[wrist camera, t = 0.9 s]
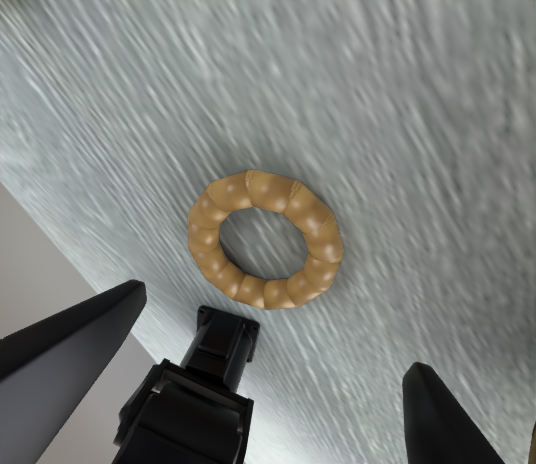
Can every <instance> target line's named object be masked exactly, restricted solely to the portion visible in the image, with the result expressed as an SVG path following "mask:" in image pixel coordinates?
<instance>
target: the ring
mask: <svg viewBox="0 0 536 464" xmlns="http://www.w3.org/2000/svg"><path fill="white" fill-rule="evenodd" d="M253 206H255V207H259V208H263V209H266V210H270V211H274V212H278V213H281V214H283V215H284V216H285V217H286V218H287V219H288V220H290V221H291V222H292V223H293V224H294V225H295V226H296V227H297V228H299V229H300V230H301V231H302V233H303V236H304V239H305V242H306V245H307V248H308V251H309V253H308V256H307V259H306V262H305V265H304V268H302V269H301V270H299V271H298V272H297V273H295V274H294V275H293V276H291V277H290V278H285V279H277V280H269V281H268V280H264V279H261V278H257V277H254V276H251V275H247V274H245V273H244V272H243V271H241V270H240V269H239V268H238V267H236V266H235V265H234V264H232V263H231V262H230V261H229V260H228V259H227V257H226V255H225V253H224V251H223V249H222V247H221V245H220V243H219V231H220V224H221V223H222V222H223V221H224V220H225V219H226V217H227V216H228V215H229V214H230V213H231V212H232V211H237V210H241V209H245V208H249V207H253ZM188 249H189V251H190V253H191V255H192V257H193V259H194V260H195V262H196V264H197V266H198V267H199V269H200V271H201V273H202V274H203V276H204V278H205V279H206V280H207V281H208V282H210V283H211V284H212V285H214V286H215V287H216V288H218V289H219V290H220V291H222V292H223V293H224V294H225V295H227V296H228V297H229V298H231V299H232V300H235V301H238V302H241V303H245V304H248V305H251V306H254V307H258V308H261V309H265V310H271V309H283V308H294V307H300V306H302V305H304V304H306V303H307V302H309V301H310V300H312V299H314V298H315V297H317V296H318V295H320V294H322V293H323V292H325V291H326V290H328V289H329V288H330V286H331V285H332V282H333V280H334V278H335V275H336V273H337V270H338V268H339V265H340V263H341V261H342V258H343V254H344V249H343V245H342V241H341V237H340V234H339V230H338V226H337V222H336V219H335V215H334V213H333V212H332V210H331V209H330V208H329V207H328V206H327V205H326V204H324V203H323V202H322V201H321V200H320V199H319V198H318V197H317V196H316V195H315V194H314V193H313V192H311V191H310V190H309V189H308V188H307V187H306V186H305V185H304V184H303V183H302V182H300V181H299V180H296V179H292V178H288V177H284V176H280V175H276V174H272V173H268V172H264V171H260V170H248V171H245V172H241V173H238V174H235V175H231V176H228V177H225V178H221V179H218V180H215V181H213V182H212V183H210V184H209V185H208V187H207V188H206V189H205V191H204V192H203V193H202V195H201V196H200V197H199V199H198V200H197V201H196V203H195V204H194V205H193V207H192V208H191V209H190V211H189V214H188Z"/></svg>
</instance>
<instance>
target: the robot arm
mask: <svg viewBox="0 0 536 464" xmlns="http://www.w3.org/2000/svg"><path fill="white" fill-rule="evenodd" d="M146 301H147V296H146V288H145V284H144V282H142V281H138V280H134V279H132V280H129V281H127V282H125V283H122V284H120V285H118V286H116V287H114V288H112V289H109V290H107V291H105V292H103V293H101V294H98V295H96V296H94V297H92V298H90V299H88V300H85V301H83V302H81V303H79V304H77V305H74V306H72V307H70V308H68V309H66V310H63V311H61V312H59V313H57V314H54V315H52V316H50V317H48V318H46V319H44V320H41V321H39V322H37V323H35V324H32V325H30V326H28V327H26V328H24V329H21V330H19V331H17V332H15V333H13V334H11V335H8V336H6V337H4V338H3V339H0V464H35V463H36V462H37V461H38V459H39V458H40V457H41V455H42V454H43V453H44V451H45V450H46V448H47V447H48V446H49V444H50V443H51V442H52V440H53V439H54V437H55V436H56V435H57V433H58V432H59V430H60V429H61V428H62V426H63V425H64V423H65V422H66V421H67V420H68V418H69V417H70V415H71V414H72V413H73V411H74V410H75V409H76V407H77V406H78V404H79V403H80V402H81V400H82V399H83V398H84V396H85V395H86V394H87V392H88V391H89V389H90V388H91V387H92V385H93V384H94V382H95V381H96V380H97V378H98V377H99V375H100V374H101V373H102V371H103V370H104V369H105V368H106V366H107V365H108V363H109V362H110V361H111V359H112V358H113V357H114V355H115V354H116V352H117V351H118V350H119V348H120V347H121V345H122V344H123V342H124V340H125V339H126V337H127V335H128V334H129V332H130V330H131V329H132V327H133V325H134V323H135V322H136V320H137V318H138V317H139V315H140V313H141V312H142V310H143V308H144V306H145V304H146ZM259 330H260V324H259V323H257V322H255V321H251V320H248V319H245V318H242V317H239V316H235V315H232V314H229V313H226V312H222V311H219V310H216V309H213V308H210V307H206V306H200V307H199V309H198V315H197V334H196V336H195V338H194V340H193V342H192V343H191V345H190V347H189V349H188V351H187V353H186V354H185V356H184V358H183V360H182V362H181V364H180V366H177V365H175V364H173V363H171V362H170V360H168V359H166V358H164V359H163V361H162V362H161V364H160V365H153V367H152V368H151V370H150V371H149V373H148V375H147V376H146V378H145V379H144V381H143V382H142V384H141V385H140V386H139V388H138V389H137V390H136V391H135V392H134V394H133V395H132V396H131V398H130V399H129V400H128V401H127V402H126V404H125V405H124V406H123V408H122V409H121V411H120V413H119V420H120V425H119V427H118V433H117V435H116V437H115V439H114V442H113V444H114V445H117V446H119V447H120V449H119V451H118V453H117V455H116V457H115V458H114V460H113V462H112V464H243V462H244V458H245V454H246V449H247V443H248V436H249V430H250V424H251V417H252V411H253V405H254V401H253V400H251V399H249V398H248V399H247V398H244V397H242V396H240V395H238V394H236V392H237V389H238V386H239V383H240V379H241V376H242V373H243V370H244V367H245V364H246V362H248V363H250V362H252V359H253V355H254V351H255V346H256V342H257V338H258V334H259ZM402 386H403V411H404V432H405V443H406V450H407V457H408V464H505V463H504V462H503V460H502V459H501V458H500V456H499V455H498V454H497V452H496V451H495V450H494V449H493V447H492V446H491V445H490V443H489V442H488V441H487V439H486V438H485V437H484V435H483V434H482V433H481V431H480V430H479V429H478V427H477V426H476V425H475V423H474V422H473V421H472V420H471V418H470V417H469V416H468V414H467V413H466V412H465V410H464V409H463V408H462V406H461V405H460V404H459V402H458V401H457V400H456V398H455V397H454V396H453V395H452V393H451V392H450V391H449V389H448V388H447V387H446V385H445V384H444V383H443V381H442V380H441V379H440V377H439V376H438V375H437V373H436V372H435V371H434V369H433V368H432V367H431V366H429V365H427V364H423V363H420V362H415V363H413V365H412V366H411V367H410V369H409V370H408V371H407V372H406V374H405V375H404V377H403V382H402ZM157 390H158V391H160V393H157Z"/></svg>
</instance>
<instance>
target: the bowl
mask: <svg viewBox="0 0 536 464" xmlns="http://www.w3.org/2000/svg"><path fill="white" fill-rule="evenodd" d="M528 464H536V422H535V425H534V429H533V433H532V440H531V446H530V452H529V460H528Z"/></svg>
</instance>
